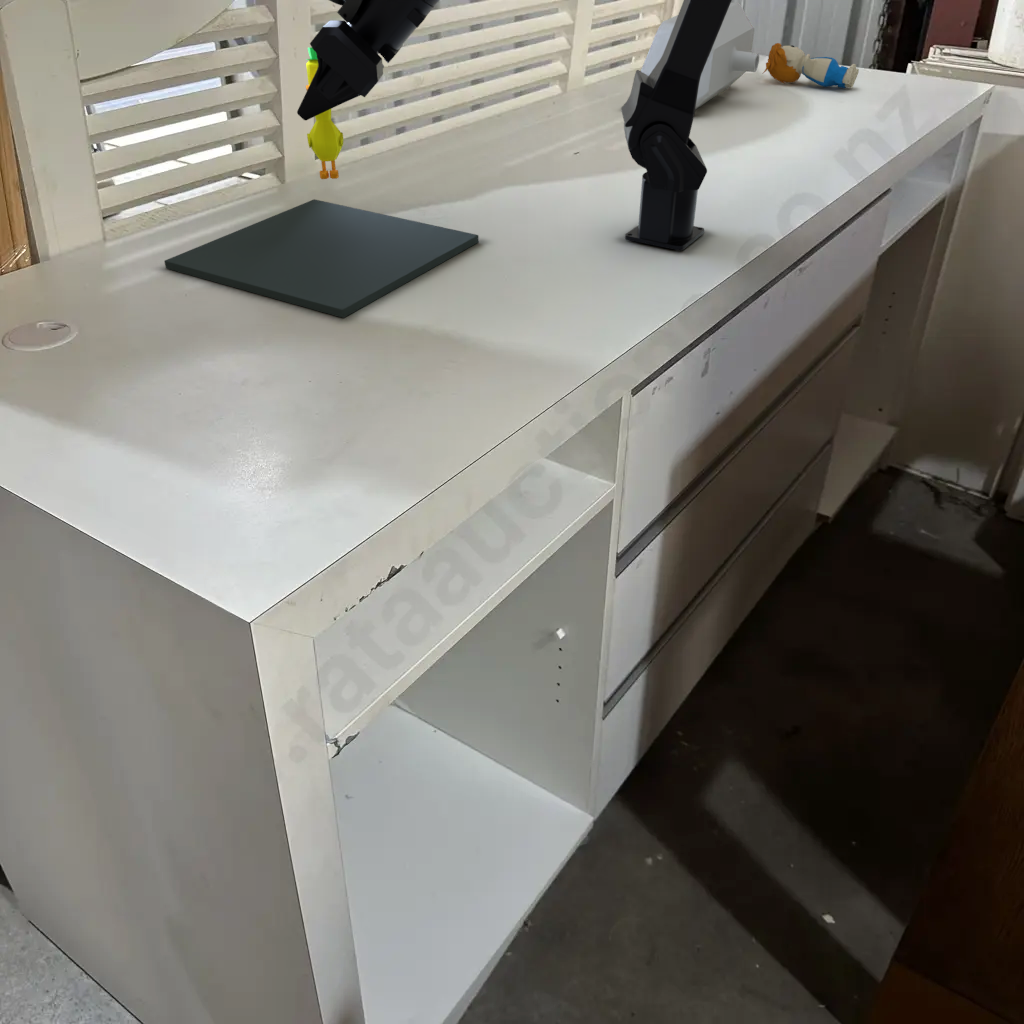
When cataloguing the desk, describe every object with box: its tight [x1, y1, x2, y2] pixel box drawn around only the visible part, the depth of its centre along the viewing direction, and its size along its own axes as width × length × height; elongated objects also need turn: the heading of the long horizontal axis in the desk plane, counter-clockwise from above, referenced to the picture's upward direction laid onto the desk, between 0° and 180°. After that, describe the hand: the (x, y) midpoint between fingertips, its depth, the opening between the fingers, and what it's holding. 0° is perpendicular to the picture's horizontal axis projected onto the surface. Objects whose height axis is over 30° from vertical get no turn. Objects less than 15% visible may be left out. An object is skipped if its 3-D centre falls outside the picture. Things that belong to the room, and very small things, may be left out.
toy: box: [762, 42, 860, 89], centre depth 158 cm, size 12×6×15 cm
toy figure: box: [305, 47, 345, 180], centre depth 94 cm, size 7×4×12 cm, turn 7°
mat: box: [164, 198, 480, 319], centre depth 95 cm, size 22×22×1 cm
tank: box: [640, 2, 760, 111], centre depth 147 cm, size 25×16×12 cm, turn 153°
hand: (307, 109), depth 94 cm, fingers closed on toy figure, 5 cm apart
